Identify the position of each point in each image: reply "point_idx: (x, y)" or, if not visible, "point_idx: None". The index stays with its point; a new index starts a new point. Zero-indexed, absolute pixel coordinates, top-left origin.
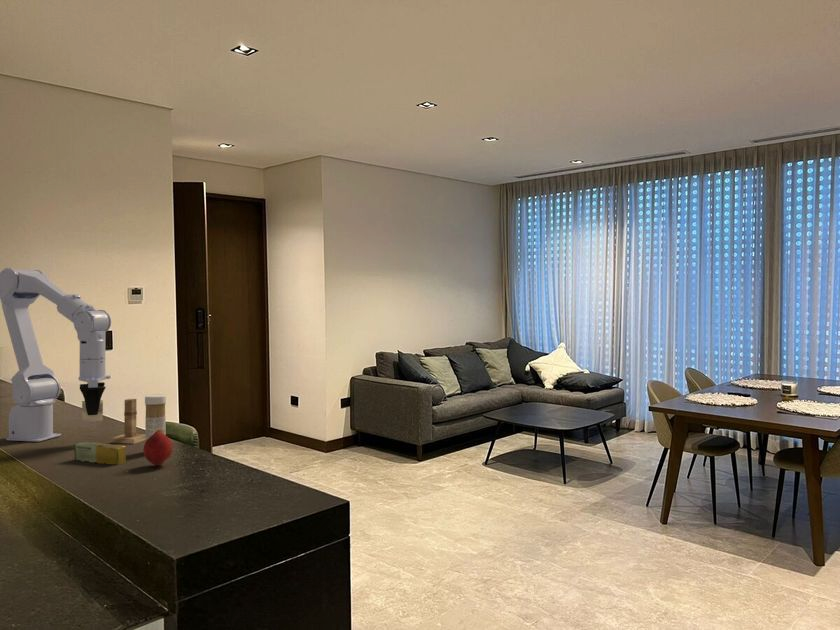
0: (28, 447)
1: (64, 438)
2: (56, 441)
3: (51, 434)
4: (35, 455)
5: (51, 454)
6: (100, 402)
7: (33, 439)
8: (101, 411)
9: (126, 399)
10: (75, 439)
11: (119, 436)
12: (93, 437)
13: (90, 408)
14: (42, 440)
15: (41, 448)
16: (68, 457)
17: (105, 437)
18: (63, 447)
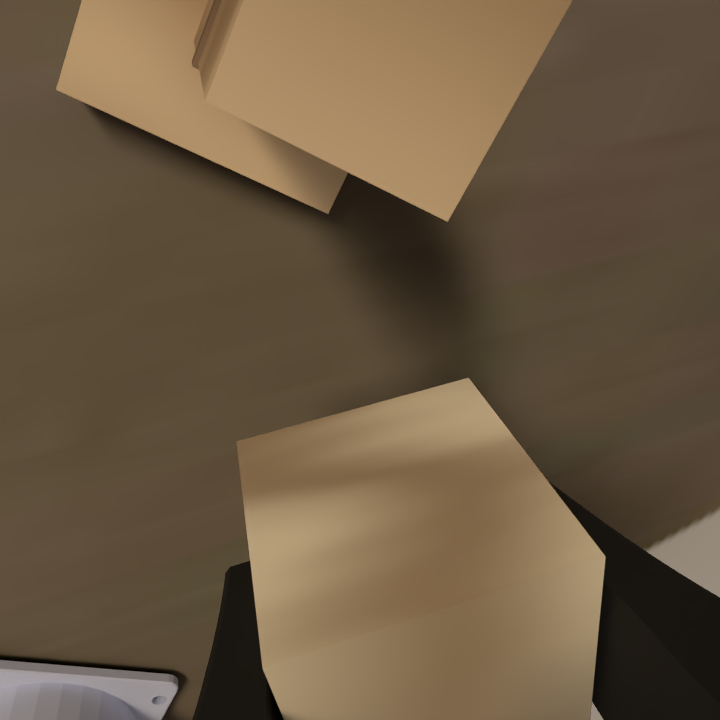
0: None
1: (40, 599)
2: (157, 602)
3: (29, 694)
4: None
5: (565, 488)
6: (574, 591)
7: (153, 715)
8: (523, 466)
9: (393, 172)
10: (92, 522)
11: (257, 151)
12: (5, 424)
13: None
14: (149, 673)
15: None
16: (694, 379)
17: (10, 322)
18: None
